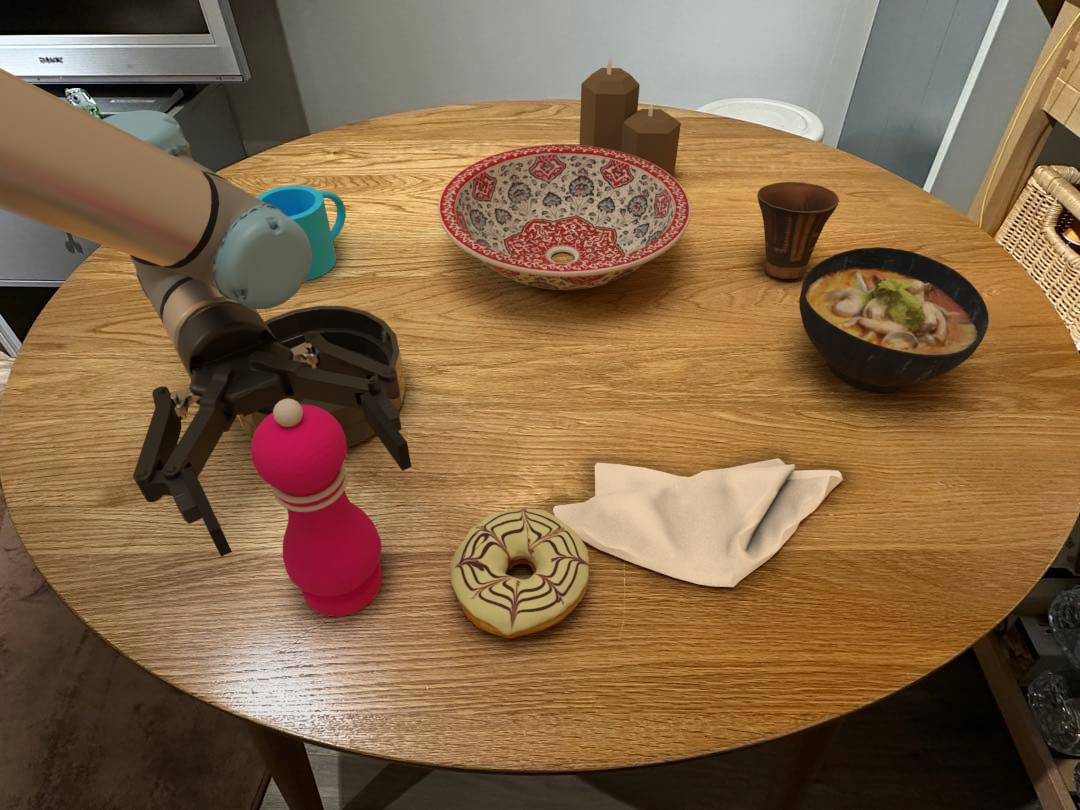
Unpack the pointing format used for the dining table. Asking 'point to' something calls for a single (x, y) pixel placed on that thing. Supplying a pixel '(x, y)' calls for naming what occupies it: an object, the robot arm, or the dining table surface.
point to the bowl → (890, 317)
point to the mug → (311, 221)
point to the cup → (793, 224)
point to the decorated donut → (509, 599)
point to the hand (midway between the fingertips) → (317, 498)
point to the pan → (344, 331)
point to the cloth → (698, 516)
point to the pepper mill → (318, 509)
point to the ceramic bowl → (564, 214)
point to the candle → (626, 120)
